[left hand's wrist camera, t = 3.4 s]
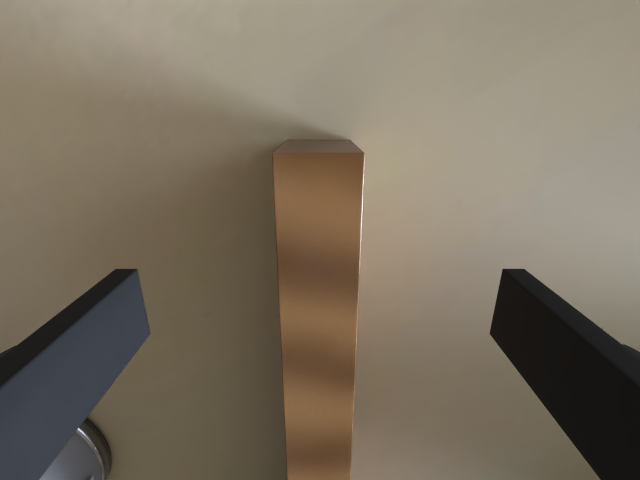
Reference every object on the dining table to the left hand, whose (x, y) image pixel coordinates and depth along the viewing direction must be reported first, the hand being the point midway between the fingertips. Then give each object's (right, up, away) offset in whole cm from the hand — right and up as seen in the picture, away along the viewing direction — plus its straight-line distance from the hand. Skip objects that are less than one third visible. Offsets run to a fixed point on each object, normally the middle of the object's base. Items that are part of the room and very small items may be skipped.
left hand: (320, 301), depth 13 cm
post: (0, -23, +24) cm, 33 cm away
